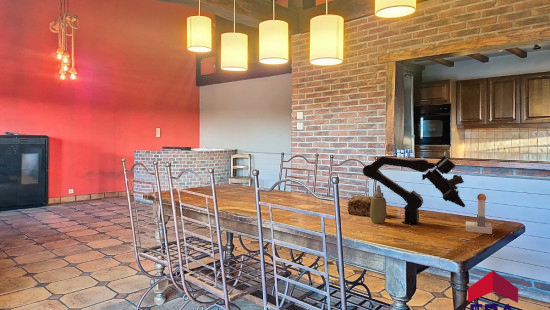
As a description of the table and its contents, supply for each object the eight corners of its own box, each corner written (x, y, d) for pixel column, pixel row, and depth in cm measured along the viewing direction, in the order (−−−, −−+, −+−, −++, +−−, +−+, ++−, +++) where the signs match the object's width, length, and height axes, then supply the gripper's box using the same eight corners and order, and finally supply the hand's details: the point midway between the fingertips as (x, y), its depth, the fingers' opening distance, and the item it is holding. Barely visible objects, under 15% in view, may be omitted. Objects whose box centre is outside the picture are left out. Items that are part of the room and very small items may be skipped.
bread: (386, 214, 199) (387, 196, 199) (381, 218, 190) (381, 199, 190) (353, 211, 209) (353, 193, 208) (346, 214, 200) (346, 196, 199)
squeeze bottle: (377, 224, 175) (378, 186, 174) (365, 221, 182) (366, 185, 181) (390, 223, 178) (390, 185, 178) (378, 219, 186) (378, 184, 185)
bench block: (465, 231, 163) (466, 216, 163) (465, 226, 172) (466, 212, 172) (491, 233, 158) (492, 218, 158) (490, 229, 167) (490, 214, 167)
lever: (476, 224, 163) (477, 194, 163) (476, 222, 168) (477, 192, 167) (485, 225, 161) (486, 194, 161) (485, 223, 166) (486, 193, 165)
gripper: (451, 170, 161) (480, 197, 156) (453, 167, 177) (478, 192, 173) (431, 187, 165) (458, 214, 160) (434, 183, 181) (459, 207, 177)
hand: (464, 206), depth 167 cm, fingers closed
